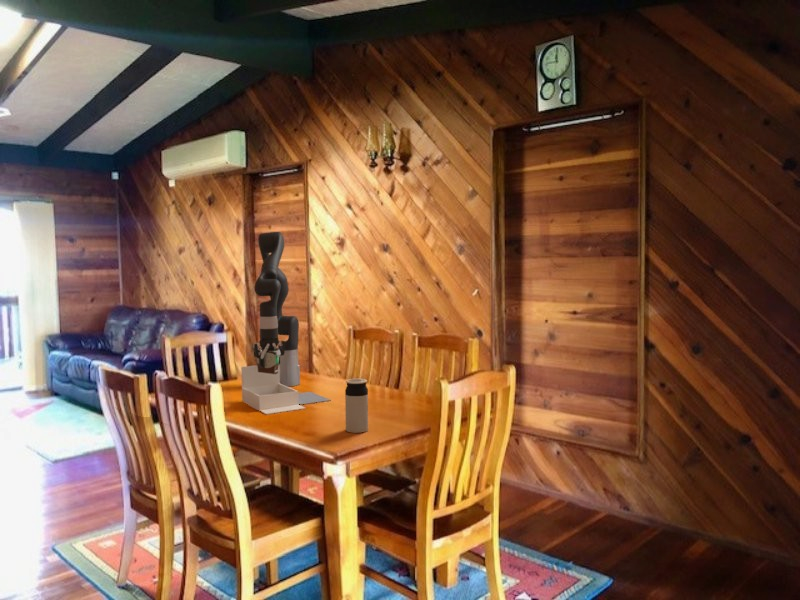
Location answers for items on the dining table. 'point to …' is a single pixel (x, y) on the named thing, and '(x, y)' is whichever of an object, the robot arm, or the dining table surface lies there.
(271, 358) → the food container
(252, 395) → the carton
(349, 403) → the travel mug
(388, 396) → the dining table surface
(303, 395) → the slate mat
